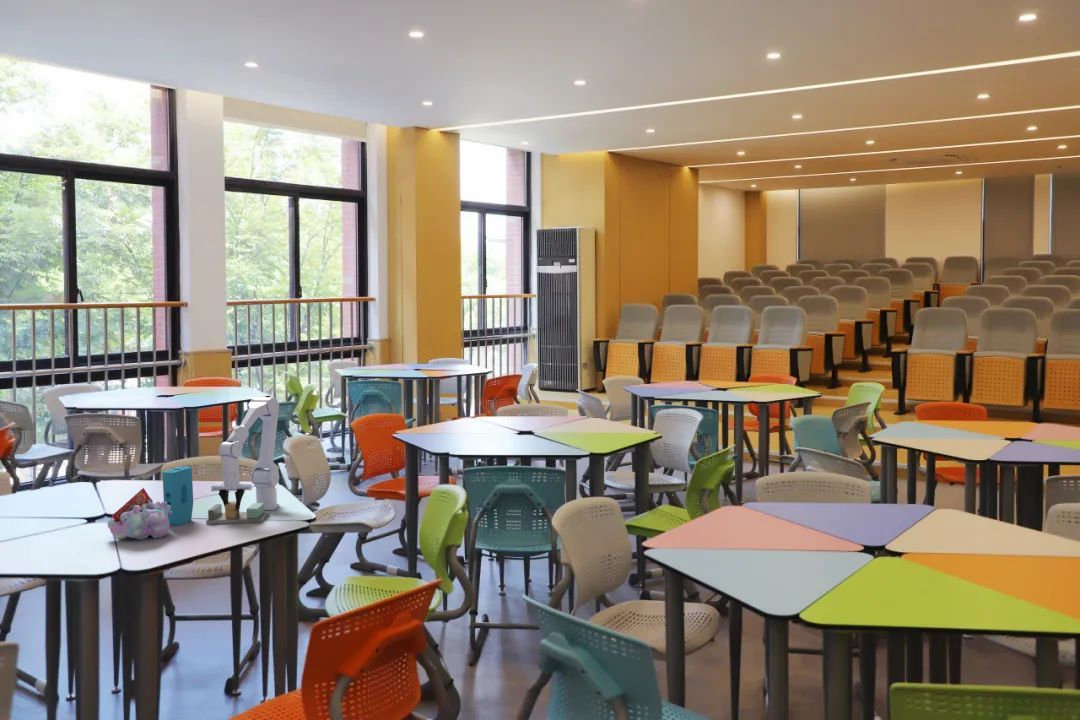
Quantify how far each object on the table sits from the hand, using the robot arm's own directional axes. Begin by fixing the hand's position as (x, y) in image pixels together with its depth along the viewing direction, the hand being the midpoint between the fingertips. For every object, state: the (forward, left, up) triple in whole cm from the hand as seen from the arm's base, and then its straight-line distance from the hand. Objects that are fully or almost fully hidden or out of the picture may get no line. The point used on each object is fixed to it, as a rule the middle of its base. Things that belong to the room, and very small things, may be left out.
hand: (232, 509), depth 347 cm
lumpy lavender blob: (+22, -26, -4) cm, 34 cm away
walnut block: (0, 0, -2) cm, 2 cm away
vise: (0, +2, -4) cm, 4 cm away
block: (+2, -19, -4) cm, 20 cm away
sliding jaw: (0, +9, -2) cm, 9 cm away
